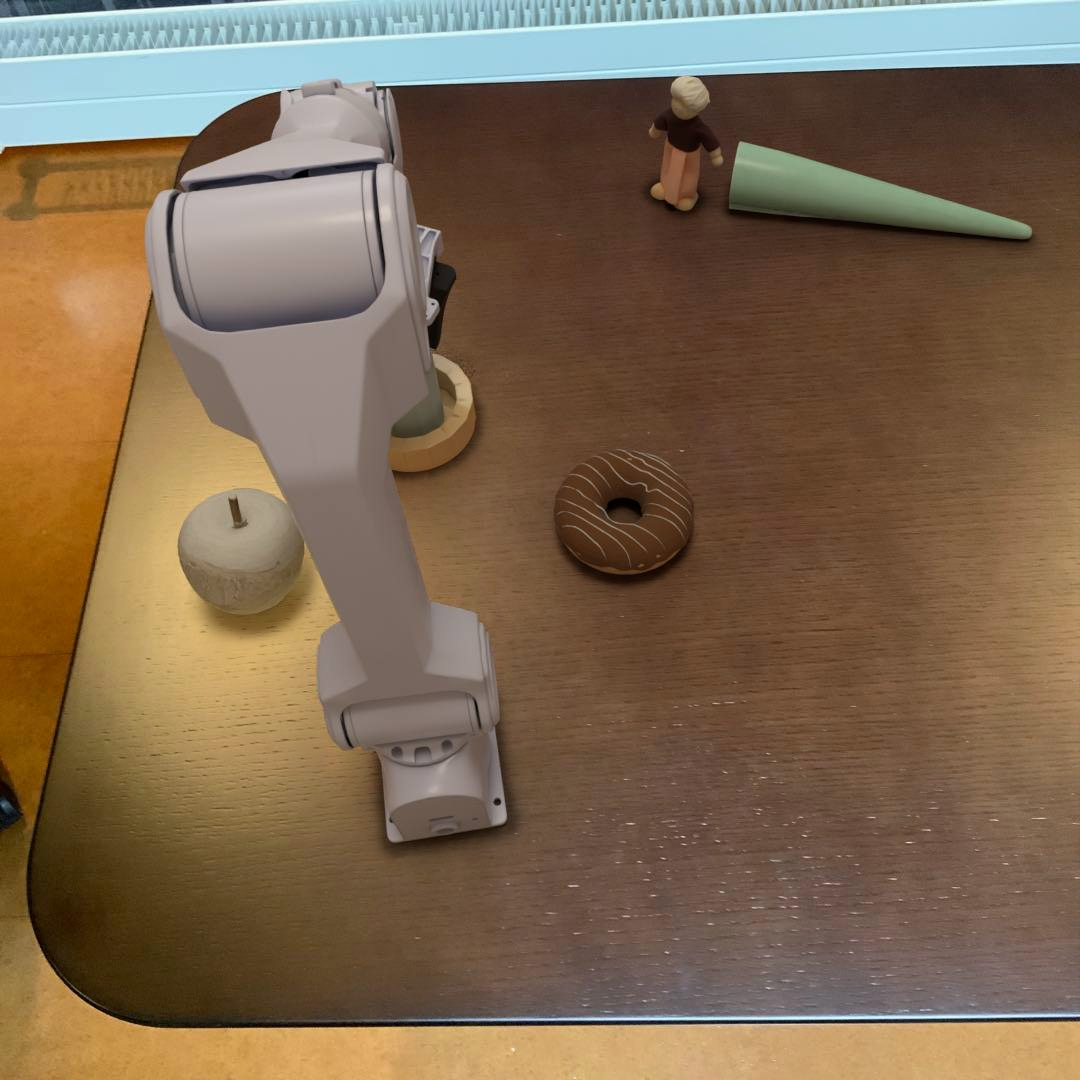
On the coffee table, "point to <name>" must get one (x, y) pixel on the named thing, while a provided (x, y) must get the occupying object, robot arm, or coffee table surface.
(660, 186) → the grandmother figurine
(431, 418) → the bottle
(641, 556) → the donut
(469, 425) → the holder
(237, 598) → the decorative object
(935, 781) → the coffee table surface
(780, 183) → the mint green cone
